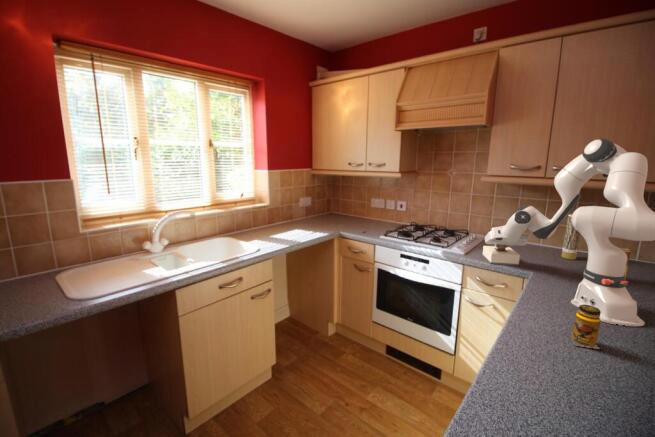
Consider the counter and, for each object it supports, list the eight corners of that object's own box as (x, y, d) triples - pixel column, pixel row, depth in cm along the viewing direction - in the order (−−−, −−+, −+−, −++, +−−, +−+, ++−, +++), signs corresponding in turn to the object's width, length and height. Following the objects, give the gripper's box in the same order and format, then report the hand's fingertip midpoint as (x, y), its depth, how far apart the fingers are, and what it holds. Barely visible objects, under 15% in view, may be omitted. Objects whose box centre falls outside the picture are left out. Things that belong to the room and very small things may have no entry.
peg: (505, 256, 174) (507, 240, 172) (497, 255, 174) (499, 240, 172) (503, 254, 178) (505, 238, 176) (495, 253, 178) (497, 238, 176)
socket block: (518, 265, 169) (520, 254, 167) (490, 263, 171) (491, 253, 169) (508, 257, 182) (509, 247, 181) (482, 255, 184) (483, 245, 183)
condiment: (575, 347, 98) (582, 311, 96) (563, 332, 106) (569, 299, 104) (603, 351, 96) (611, 315, 94) (589, 335, 104) (595, 302, 102)
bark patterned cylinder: (570, 256, 185) (578, 214, 180) (578, 260, 178) (586, 216, 173) (558, 255, 185) (565, 214, 180) (565, 259, 179) (573, 216, 174)
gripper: (531, 229, 164) (520, 242, 175) (488, 227, 167) (481, 240, 179) (533, 240, 161) (522, 252, 172) (490, 237, 164) (482, 250, 175)
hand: (501, 246), depth 175 cm, fingers closed on peg, 4 cm apart
